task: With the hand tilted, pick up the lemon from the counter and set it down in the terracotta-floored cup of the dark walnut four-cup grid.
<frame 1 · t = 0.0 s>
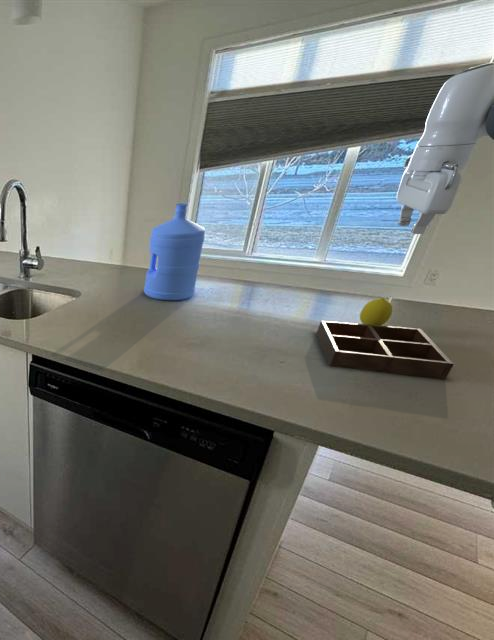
hand: (409, 229, 92), 23 cm above the worktop, tool pointing down, fingers open, 8 cm apart
lemon: (368, 329, 102), on the worktop
grid: (373, 353, 91), on the worktop
water jug: (168, 294, 136), on the worktop
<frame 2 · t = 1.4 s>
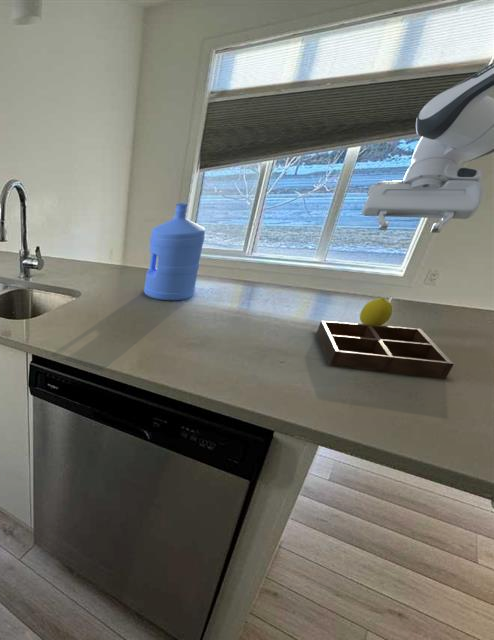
hand: (408, 230, 99), 22 cm above the worktop, tool tilted 45°, fingers open, 8 cm apart
nothing on the worktop moved.
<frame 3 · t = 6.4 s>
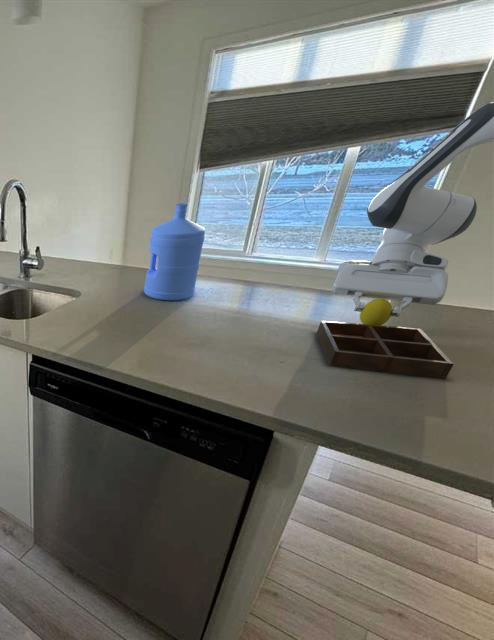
hand: (376, 312, 100), 4 cm above the worktop, tool tilted 45°, fingers closed on lemon, 5 cm apart
lemon: (368, 329, 102), on the worktop, touching gripper
everything else where it was.
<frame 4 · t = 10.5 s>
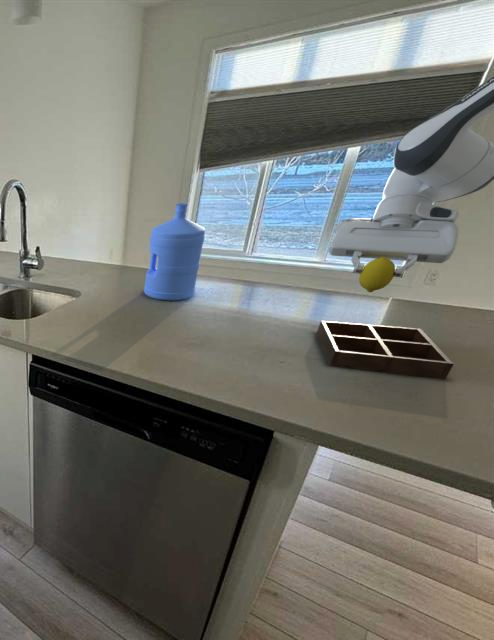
hand: (377, 273, 89), 16 cm above the worktop, tool tilted 45°, fingers closed on lemon, 5 cm apart
lemon: (369, 293, 92), point 12 cm above the worktop, touching gripper
everything else where it was.
when the fingers open (5 cm above the worktop, at t = 14.4 s): lemon stays where it is, resting on grid.
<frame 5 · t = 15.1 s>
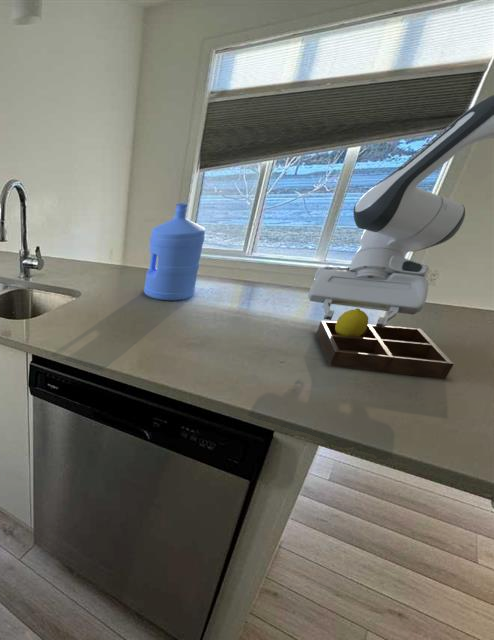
hand: (353, 322, 93), 6 cm above the worktop, tool tilted 45°, fingers open, 8 cm apart
lemon: (344, 341, 96), point 1 cm above the worktop, touching grid
everything else where it was.
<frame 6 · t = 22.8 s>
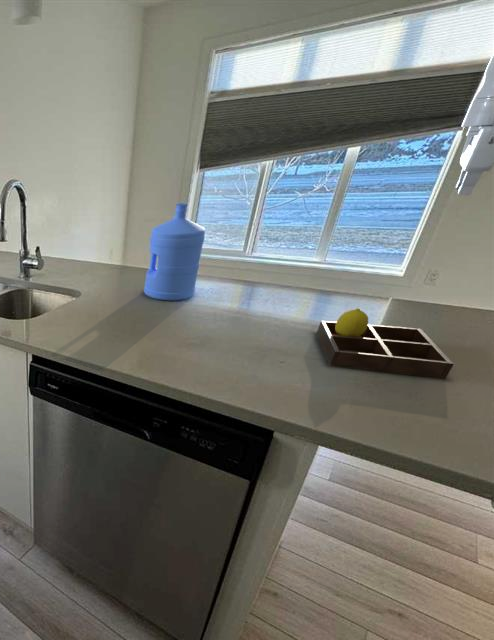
hand: (462, 192, 85), 31 cm above the worktop, tool pointing down, fingers open, 8 cm apart
nothing on the worktop moved.
at the end: lemon 0.1 cm from the target spot in the grid, point 0.5 cm above the grid's base; lemon tilted 0°; the gripper is holding nothing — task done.
